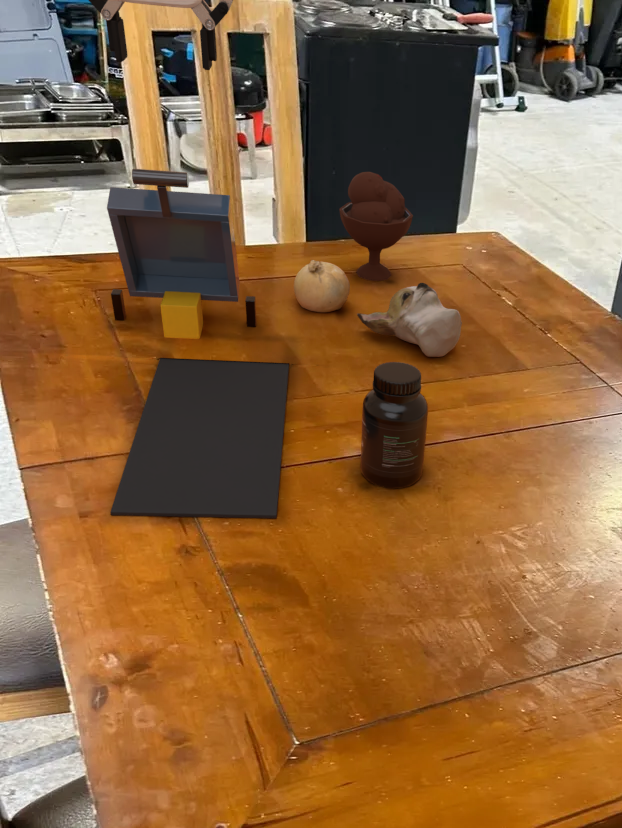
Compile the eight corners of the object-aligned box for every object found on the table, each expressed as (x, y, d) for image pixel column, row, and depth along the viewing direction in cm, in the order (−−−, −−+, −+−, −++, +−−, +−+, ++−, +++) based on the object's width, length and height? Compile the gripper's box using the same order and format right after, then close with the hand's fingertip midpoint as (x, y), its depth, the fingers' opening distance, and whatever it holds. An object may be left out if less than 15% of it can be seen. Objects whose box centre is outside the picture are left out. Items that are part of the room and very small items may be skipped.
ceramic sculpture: (426, 306, 110) (352, 272, 119) (423, 372, 115) (353, 335, 124) (487, 291, 116) (413, 259, 124) (481, 354, 121) (411, 320, 130)
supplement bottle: (360, 454, 100) (363, 355, 92) (420, 457, 100) (429, 358, 92) (360, 488, 94) (363, 386, 87) (423, 491, 95) (433, 390, 87)
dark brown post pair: (256, 331, 121) (254, 301, 118) (115, 324, 118) (110, 293, 115) (256, 326, 122) (255, 296, 119) (117, 319, 119) (112, 288, 117)
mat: (110, 515, 87) (110, 512, 87) (169, 330, 118) (169, 328, 118) (276, 518, 89) (276, 515, 89) (291, 336, 120) (291, 333, 120)
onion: (296, 294, 131) (295, 246, 126) (350, 298, 132) (351, 250, 127) (292, 317, 125) (290, 267, 120) (348, 321, 126) (349, 271, 121)
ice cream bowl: (380, 293, 134) (385, 189, 125) (324, 272, 139) (325, 169, 129) (422, 275, 141) (429, 175, 131) (367, 256, 146) (370, 157, 136)
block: (160, 304, 113) (165, 290, 116) (164, 338, 115) (169, 323, 119) (196, 306, 113) (200, 292, 117) (199, 340, 116) (203, 325, 119)
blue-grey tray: (239, 282, 120) (237, 309, 118) (132, 276, 118) (128, 303, 116) (225, 152, 103) (222, 181, 100) (99, 142, 101) (93, 172, 98)
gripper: (235, -118, 95) (244, 64, 106) (67, -138, 93) (94, 50, 104) (227, -115, 90) (238, 77, 101) (49, -135, 88) (79, 63, 99)
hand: (165, 63), depth 103 cm, fingers open, 9 cm apart
